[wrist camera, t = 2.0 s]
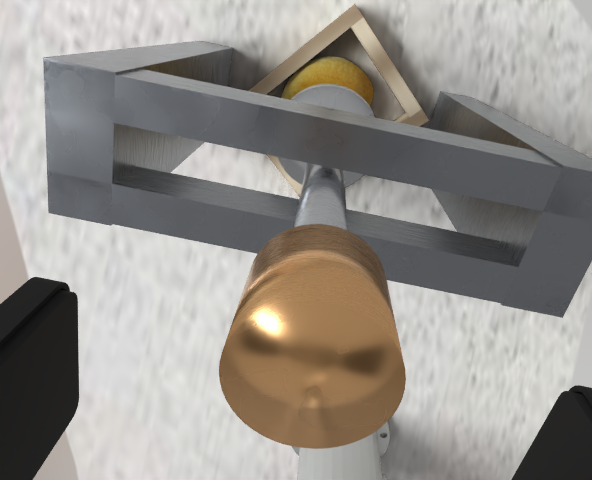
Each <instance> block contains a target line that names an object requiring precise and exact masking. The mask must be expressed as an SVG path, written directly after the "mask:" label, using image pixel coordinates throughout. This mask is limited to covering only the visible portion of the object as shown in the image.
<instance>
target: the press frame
mask: <svg viewBox="0 0 592 480" xmlns="http://www.w3.org/2000/svg"><path fill="white" fill-rule="evenodd" d="M232 50H233V48H232V47H227V46H222V45H217V44H212V43H208V42H203V41H194V42H184V43H175V44H166V45H156V46H147V47H137V48H128V49H119V50H109V51H100V52H90V53H81V54H72V55H62V56H53V57H43V60H44V90H45V119H46V149H47V179H48V208H49V213H52V214H57V215H62V216H67V217H71V218H76V219H81V220H86V221H91V222H96V223H101V224H106V225H112V224H115V225H120V226H125V227H130V228H135V229H140V230H145V231H150V232H155V233H159V234H164V235H169V236H174V237H179V238H184V239H189V240H194V241H199V242H204V243H208V244H213V245H218V246H223V247H228V248H233V249H238V250H243V251H248V252H253V253H259V251H260V250H261V249H262V247H263V246H264V245H265V244H266V243H267V242H268V241H269V240H270V239H272V238H273V237H275V236H276V235H278V234H279V233H281V232H283V231H285V230H288V229H291V228H293V227H294V225H295V220H296V215H297V210H298V205H299V199H294V198H289V197H284V196H279V195H274V194H270V193H265V192H260V191H255V190H250V189H245V188H240V187H235V186H231V185H226V184H221V183H216V182H211V181H206V180H201V179H197V178H192V177H187V176H182V175H177V174H172V173H170V172H172V171H173V170H174V169H175V168H176V167H177V166H178V165H179V164H181V163H182V162H183V161H184V160H185V159H186V158H187V157H188V156H189V155H191V154H192V153H193V152H194V151H195V150H196V149H197V148H198V147H200V146H201V145H202V144H203V143H204V142H209V143H213V144H218V145H223V146H228V147H233V148H238V149H242V150H247V151H252V152H257V153H262V154H267V155H272V156H276V157H281V158H286V159H291V160H296V161H301V162H305V163H310V164H315V165H320V166H325V167H330V168H335V169H339V170H344V171H349V172H354V173H359V174H364V175H368V176H373V177H378V178H383V179H388V180H393V181H397V182H402V183H407V184H412V185H417V186H422V187H427V188H431V189H432V191H433V192H434V194H435V195H436V197H437V199H438V200H439V202H440V204H441V205H442V207H443V209H444V210H445V212H446V214H447V215H448V217H449V219H450V220H451V222H452V224H453V225H454V227H455V229H456V230H457V232H455V231H450V230H445V229H440V228H435V227H430V226H425V225H420V224H416V223H411V222H406V221H401V220H396V219H391V218H386V217H382V216H377V215H372V214H367V213H362V212H357V211H352V210H347V209H346V214H347V228H348V231H350V232H351V233H353V234H355V235H357V236H358V237H360V238H361V239H362V240H364V241H365V242H366V243H367V244H368V245H369V246H370V247H371V248H372V249H373V250H374V252H375V253H376V254H377V256H378V257H379V259H380V261H381V263H382V266H383V268H384V272H385V276H386V280H390V281H395V282H400V283H405V284H410V285H415V286H420V287H424V288H429V289H434V290H439V291H444V292H449V293H454V294H459V295H464V296H469V297H473V298H478V299H483V300H488V301H493V302H498V303H501V305H503V306H508V307H513V308H518V309H523V310H528V311H533V312H538V313H543V314H548V315H553V316H557V317H562V318H563V316H564V314H565V312H566V310H567V308H568V306H569V304H570V302H571V300H572V298H573V296H574V294H575V292H576V290H577V288H578V286H579V284H580V282H581V281H582V279H583V277H584V275H585V273H586V271H587V269H588V267H589V265H590V263H591V261H592V159H591V158H589V157H587V156H585V155H583V154H581V153H579V152H577V151H576V150H574V149H572V148H570V147H568V146H566V145H564V144H562V143H560V142H558V141H556V140H554V139H552V138H550V137H548V136H546V135H544V134H542V133H540V132H538V131H536V130H535V129H533V128H531V127H529V126H527V125H525V124H523V123H521V122H519V121H517V120H515V119H513V118H511V117H509V116H507V115H505V114H503V113H501V112H499V111H497V110H495V109H494V108H492V107H490V106H488V105H486V104H484V103H482V102H480V101H478V100H476V99H474V98H471V97H466V96H461V95H456V94H452V93H447V92H442V91H440V94H439V97H438V101H437V104H436V107H435V110H434V114H433V117H432V120H431V123H430V127H429V129H428V128H423V127H418V126H414V125H409V124H404V123H399V122H394V121H390V120H385V119H380V118H375V117H370V116H365V115H361V114H356V113H351V112H346V111H341V110H337V109H332V108H327V107H322V106H317V105H313V104H308V103H303V102H298V101H293V100H289V99H284V98H279V97H274V96H269V95H265V94H260V93H255V92H250V91H245V90H240V89H236V88H231V87H228V82H229V74H230V66H231V58H232Z"/></svg>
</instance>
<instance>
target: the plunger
mask: <svg viewBox="0 0 592 480" xmlns="http://www.w3.org/2000/svg"><path fill="white" fill-rule="evenodd" d="M291 100H293V101H298V102H303V103H308V104H313V105H317V106H322V107H327V108H332V109H337V110H341V111H346V112H351V113H356V114H361V115H365V116H370V117H375V116H374V113H373V111H372V110H371V108H370V106H369V105H368V103H367V102H366V101H365V100H364V99H363V97H361V96H360V95H359V94H358V93H357V92H355V91H353V90H352V89H350V88H347V87H345V86H342V85H338V84H331V83H324V84H317V85H314V86H310V87H308V88H306V89H304V90H302V91H300V92H299V93H297V94H296V95H295V96H294V97H293V98H292V99H291ZM278 159H279V162H280V164H281V165H282V167H283V169H284V170H285V171H286V172H287V174H288V175H289V176H290V177H291V178H292V179H294V180H295V181H296V182H298V183H300V184H301V185H302V189H301V194H300V200H299V205H298V210H297V215H296V220H295V225H294V227H293V228H291V229H288V230H285V231H283V232H281V233H279V234H278V235H276V236H275V237H273V238H272V239H270V240H269V241H268V242H267V243H266V244H265V245H264V246H263V247H262V249H261V250H260V251H259V253H258V254H257V256H256V258H255V259H254V262H253V264H252V267H251V270H250V273H249V276H248V278H247V281H246V284H245V287H244V290H243V293H242V296H241V299H240V302H239V305H238V308H237V311H236V313H235V316H234V319H233V322H232V325H231V328H230V331H229V334H228V337H227V340H226V343H225V346H224V349H223V351H222V355H221V359H220V366H219V376H220V383H221V387H222V391H223V393H224V396H225V398H226V400H227V402H228V404H229V405H230V407H231V408H232V410H233V411H234V412H235V413H236V415H237V416H238V417H239V418H240V419H241V420H242V421H243V422H244V423H245V424H247V425H248V426H249V427H250V428H252V429H253V430H255V431H256V432H258V433H259V434H261V435H263V436H265V437H267V438H269V439H271V440H274V441H276V442H279V443H282V444H286V445H290V446H294V447H300V448H311V449H323V448H333V447H339V446H344V445H348V444H351V443H354V442H356V441H359V440H361V439H363V438H365V437H367V436H369V435H371V434H372V433H374V432H375V431H377V430H378V429H380V428H381V427H382V426H383V425H384V424H385V423H386V422H387V421H388V420H389V419H390V418H391V417H392V416H393V414H394V413H395V411H396V410H397V408H398V406H399V404H400V402H401V400H402V397H403V393H404V390H405V381H406V378H405V367H404V362H403V358H402V353H401V348H400V343H399V338H398V334H397V329H396V324H395V319H394V314H393V310H392V305H391V300H390V295H389V290H388V285H387V281H386V276H385V272H384V268H383V266H382V263H381V261H380V259H379V257H378V256H377V254H376V253H375V252H374V250H373V249H372V248H371V247H370V246H369V245H368V244H367V243H366V242H365V241H364V240H362V239H361V238H360V237H358V236H357V235H355V234H353V233H351V232H350V231H348V228H347V214H346V199H345V187H347V186H349V185H351V184H353V183H355V182H356V181H358V180H359V179H360V178H361V177H363V176H364V174H359V173H354V172H349V171H344V170H339V169H335V168H330V167H325V166H320V165H315V164H310V163H305V162H301V161H296V160H291V159H286V158H281V157H278Z"/></svg>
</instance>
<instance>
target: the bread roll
mask: <svg viewBox="0 0 592 480" xmlns="http://www.w3.org/2000/svg"><path fill="white" fill-rule="evenodd" d="M324 83H331V84H338V85H342V86H345V87H347V88H350V89H352V90H353V91H355V92H357V93H358V94H359V95H360V96H361V97H363V99H364V100H365V101H366V102H367V103H368V105H369V106H370V105H371V103H372V100H373V95H374V90H373V87H372V83H371V81H370V80H369V78H368V77H367V76H366V74H365V73H364V72H363V71H362V70H361V69H360V68H359V67H358V66H356V65H355V64H353V63H352V62H350V61H348V60H347V59H345V58H341V57H335V56H325V57H321V58H317V59H315V60H312V61H310V62H308V63H306V64H304V65H303V66H302V67H300V68H299V69H298V70H297V71H296V72H295V73H294V74H293V75H292V77H291V78H290V79H289V80H288V82H287V84H286V86H285V88H284V90H283V93H282V96H281V98H284V99H289V100H291V99H292V98H293V97H294V96H295V95H296V94H297V93H299V92H300V91H302V90H304V89H306V88H308V87H310V86H314V85H317V84H324Z"/></svg>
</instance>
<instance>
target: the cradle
mask: <svg viewBox="0 0 592 480" xmlns="http://www.w3.org/2000/svg"><path fill="white" fill-rule="evenodd" d="M349 28H351V29H352V31H353V32H354V34H355V35H356V37H357V39H358V40H359V42H360V43H361V45H362V46H363V48H364V49H365V51H366V52H367V54H368V55H369V57H370V58H371V60H372V62H373V63H374V65H375V66H376V68H377V69H378V71H379V72H380V74H381V75H382V77H383V78H384V80H385V81H386V83H387V85H388V86H389V88H390V89H391V91H392V92H393V94H394V95H395V97H396V98H397V100H398V101H399V103H400V104H401V106H402V108H403V109H404V111H405V112H406V113H405V114H403V115H402V116H400V117H399V118H397V119H396V120H395V121H394V122H399V123H404V124H409V125H414V126H418V127H420V126H422V125H423V124H424V123H426V122H427V121H429V119H428V118H427V116H426V115H425V113H424V111H423V110H422V108H421V107H420V105H419V104H418V102H417V101H416V99H415V97H414V96H413V94H412V93H411V91H410V90H409V88H408V86H407V85H406V83H405V82H404V80H403V79H402V77H401V75H400V74H399V72H398V71H397V69H396V68H395V66H394V65H393V63H392V61H391V60H390V58H389V57H388V55H387V54H386V52H385V50H384V49H383V47H382V46H381V44H380V43H379V41H378V39H377V38H376V36H375V35H374V33H373V32H372V30H371V29H370V27H369V25H368V24H367V22H366V21H365V19H364V18H363V16H362V14H361V13H360V11H359V10H358V8H357V7H356V5H355V4H354V5H353V6H352V7H351V8H349V9H348V10H347V11H346V12H344V13H343V14H342V15H341V16H339V17H338V18H337V19H336V20H335V21H333V22H332V23H331V24H330V25H328V26H327V27H326V28H325V29H324V30H322V31H321V32H320V33H319V34H317V35H316V36H315V37H314V38H312V39H311V40H310V41H309V42H308V43H306V44H305V45H304V46H303V47H301V48H300V49H299V50H298V51H297V52H295V53H294V54H293V55H292V56H290V57H289V58H288V59H287V60H285V61H284V62H283V63H282V64H281V65H279V66H278V67H277V68H276V69H274V70H273V71H272V72H271V73H270V74H268V75H267V76H266V77H265V78H263V79H262V80H261V81H260V82H258V83H257V84H256V85H255V86H254V87H252V88H251V89H250V90H249V91H250V92H255V93H260V94H265V95H267V94H268V93H269V92H270V91H272V90H273V89H274V88H275V87H277V86H278V85H279V84H280V83H282V82H283V81H284V80H285V79H287V78H288V77H289V76H290V75H292V74H293V73H294V72H295V71H297V70H298V69H299V68H300V67H302V66H303V65H304V64H305V63H307V62H308V61H309V60H310V59H312V58H313V57H314V56H315V55H317V54H318V53H319V52H320V51H322V50H323V49H324V48H325V47H327V46H328V45H329V44H330V43H332V42H333V41H334V40H335V39H337V38H338V37H339V36H340V35H342V34H343V33H344V32H345V31H347V30H348V29H349ZM266 155H267V154H266ZM267 156H268V157H269V158H270V160H271V161H272V162H273V163H274V165H275V166H276V167H277V169H278V170H279V171H280V172H281V174H282V175H283V176H284V178H285V179H286V180H287V181H288V183H289V184H290V185H291V187H292V188H293V189H294V190H295V192H296V193H297V194H298V196H299V197H300V194H301V189H302V185H301V184H300V183H298V182H296V181H295V180H294V179H292V178H291V177H290V176H289V175H288V174H287V172H286V171H285V170H284V169H283V167H282V165H281V164H280V162H279V159H278V157H276V156H272V155H267Z"/></svg>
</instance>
